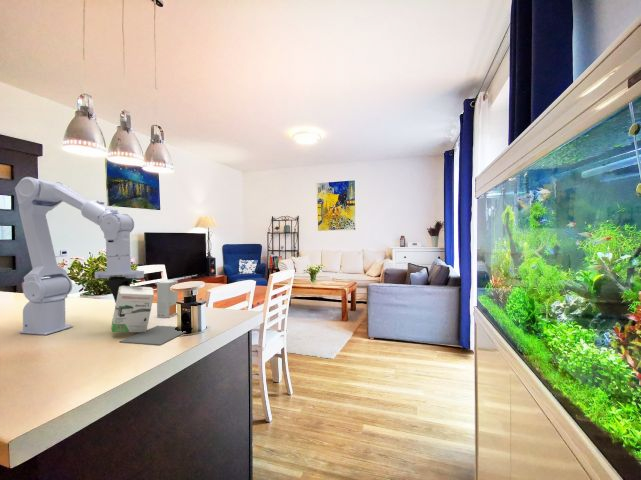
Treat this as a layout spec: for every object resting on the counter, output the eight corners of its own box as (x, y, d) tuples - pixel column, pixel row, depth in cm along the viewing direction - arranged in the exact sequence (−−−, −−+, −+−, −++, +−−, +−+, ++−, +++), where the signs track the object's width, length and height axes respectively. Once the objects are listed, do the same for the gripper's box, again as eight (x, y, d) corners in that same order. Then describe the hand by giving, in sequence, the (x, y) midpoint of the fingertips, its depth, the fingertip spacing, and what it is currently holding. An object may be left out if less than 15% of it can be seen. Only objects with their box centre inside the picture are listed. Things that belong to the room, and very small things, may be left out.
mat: (119, 342, 79) (119, 341, 79) (157, 326, 93) (157, 325, 93) (160, 345, 77) (160, 344, 77) (193, 328, 90) (193, 327, 90)
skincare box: (168, 318, 102) (168, 282, 102) (156, 317, 102) (156, 282, 102) (178, 313, 108) (178, 280, 108) (166, 313, 108) (166, 279, 108)
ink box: (110, 333, 82) (118, 292, 80) (111, 324, 86) (118, 285, 84) (147, 332, 87) (154, 293, 85) (146, 323, 91) (153, 286, 89)
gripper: (151, 254, 89) (152, 300, 89) (109, 255, 92) (110, 300, 92) (132, 256, 82) (133, 306, 82) (87, 257, 85) (88, 305, 85)
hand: (120, 303), depth 86 cm, fingers closed
